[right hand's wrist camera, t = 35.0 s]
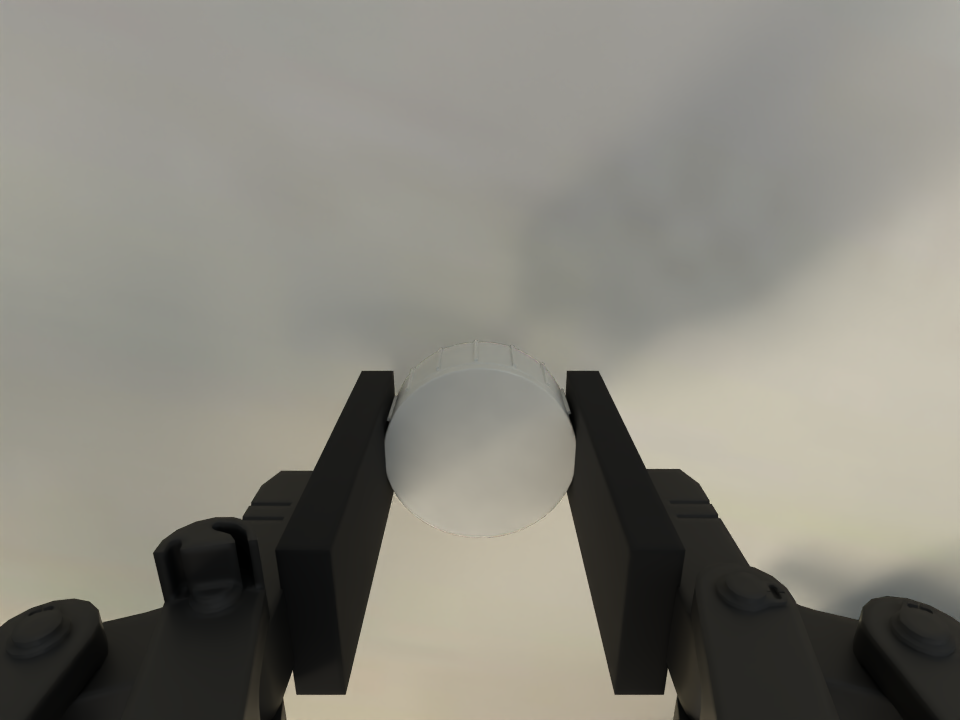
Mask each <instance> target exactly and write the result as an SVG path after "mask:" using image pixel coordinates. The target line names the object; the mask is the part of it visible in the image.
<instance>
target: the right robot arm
mask: <svg viewBox="0 0 960 720" xmlns="http://www.w3.org/2000/svg"><path fill="white" fill-rule="evenodd" d="M394 397H395V390H394V372H393V371H362V372H361V374H360V376H359V378H358V380H357V382H356V384H355V386H354V388H353V390H352V392H351V394H350V396H349V398H348V401H347V403H346V405H345V407H344V409H343V411H342V413H341V415H340V417H339V419H338V421H337V423H336V425H335V427H334V429H333V431H332V433H331V435H330V438H329V440H328V442H327V444H326V446H325V448H324V450H323V452H322V454H321V456H320V458H319V460H318V462H317V464H316V466H315V468H314V470H313V471H280V472H279V473H278V474H276V475H275V476H274V477H272V478H271V479H270V480H268V481H267V482H266V483H264V484H263V485H262V486H261V487H260V489H259V491H258V492H257V494H256V496H255V497H254V499H253V501H252V502H251V506H249V507H248V509H247V510H246V512H245V514H244V515H243V519H242V520H241V519H238V518H234V517H215V518H210V519H206V520H201V521H197V522H194V523H192V524H189V525H187V526H185V527H182V528H180V529H178V530H176V531H175V532H174V533H172V534H171V535H169V536H168V537H167V538H165V539H164V540H162V542H161V543H160V544H159V546H158V547H157V548H156V550H155V551H154V552H153V555H154V559H155V563H156V567H157V572H158V576H159V580H160V584H161V588H162V593H163V597H164V601H165V603H164V605H163V607H162V608H159V609H156V610H152V611H149V612H146V613H142V614H137V615H133V616H129V617H124V618H120V619H116V620H111V621H107V622H103V623H102V620H101V617H100V614H99V610H98V609H97V608H96V607H95V606H94V605H93V604H92V603H91V602H89V601H84V600H79V599H66V600H57V601H52V602H49V603H46V604H43V605H39V606H36V607H33V608H31V609H29V610H27V611H25V612H23V613H21V614H19V615H17V616H15V617H14V618H12V619H10V620H8V621H7V622H6V623H4V624H3V625H2V626H1V627H0V720H286V713H285V706H284V700H283V696H284V694H285V691H286V688H287V685H288V682H289V679H290V676H291V673H292V670H293V674H294V681H295V688H296V694H297V695H346V691H347V687H348V682H349V678H350V674H351V670H352V666H353V661H354V657H355V653H356V649H357V644H358V640H359V636H360V632H361V628H362V623H363V619H364V615H365V611H366V606H367V602H368V598H369V594H370V590H371V585H372V581H373V577H374V573H375V568H376V564H377V560H378V556H379V552H380V547H381V543H382V539H383V535H384V531H385V526H386V522H387V518H388V514H389V509H390V505H391V501H392V497H393V493H394V490H393V489H392V487H391V484H390V482H389V480H388V477H387V473H386V458H385V435H386V431H387V428H388V424H389V421H387V418H388V415H389V412H390V409H391V406H392V403H393V400H394ZM566 399H567V402H568V406H569V409H570V412H571V414H569V417H570V420H571V423H572V426H573V430H574V433H575V437H576V449H575V465H574V475H573V479H572V481H571V483H570V486H569V488H568V490H567V495H568V499H569V504H570V508H571V512H572V516H573V520H574V525H575V529H576V533H577V537H578V542H579V546H580V550H581V554H582V558H583V563H584V567H585V571H586V575H587V580H588V584H589V588H590V592H591V596H592V601H593V605H594V609H595V613H596V617H597V622H598V626H599V630H600V634H601V639H602V643H603V647H604V651H605V655H606V660H607V664H608V668H609V672H610V677H611V681H612V685H613V689H614V693H615V695H664V690H665V684H666V677H667V670H668V669H669V672H670V675H671V678H672V681H673V684H674V686H675V689H676V692H677V700H676V706H675V712H674V719H673V720H960V623H959V622H958V621H956V620H955V619H954V618H953V617H951V616H949V615H947V614H945V613H943V612H941V611H939V610H937V609H936V608H934V607H932V606H930V605H926V604H923V603H920V602H917V601H914V600H911V599H908V598H899V597H890V596H885V597H880V598H875V599H871V600H870V601H869V602H868V603H867V604H866V605H865V606H864V607H863V608H862V612H861V615H860V619H859V620H856V619H851V618H847V617H843V616H838V615H834V614H829V613H825V612H821V611H816V610H813V609H810V608H806V607H803V606H800V605H798V604H796V602H795V600H794V598H793V597H792V595H791V594H790V592H789V591H788V589H787V588H786V587H785V586H784V585H783V584H781V583H780V582H779V581H778V580H776V579H775V578H774V577H773V576H771V575H769V574H767V573H765V572H763V571H761V570H759V569H757V568H754V567H750V566H749V564H748V562H747V561H746V559H745V558H744V556H743V554H742V553H741V551H740V549H739V548H738V546H737V545H736V543H735V541H734V540H733V538H732V536H731V535H730V533H729V532H728V530H727V528H726V527H725V525H724V523H723V522H722V520H721V519H720V518H718V514H717V512H716V510H715V509H714V507H713V506H712V504H710V503H709V499H708V497H707V496H706V494H705V493H704V491H703V489H702V488H701V486H700V484H699V483H697V482H696V481H695V480H693V479H692V478H691V477H689V476H688V475H687V474H685V473H684V472H683V471H681V470H680V469H646V468H645V465H644V463H643V461H642V459H641V457H640V455H639V453H638V451H637V449H636V447H635V445H634V443H633V441H632V439H631V437H630V435H629V433H628V431H627V428H626V426H625V424H624V422H623V420H622V418H621V416H620V414H619V412H618V410H617V408H616V406H615V404H614V402H613V400H612V398H611V396H610V394H609V391H608V389H607V387H606V385H605V383H604V381H603V379H602V377H601V375H600V373H599V371H567V379H566Z"/></svg>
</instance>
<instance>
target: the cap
mask: <svg viewBox="0 0 960 720" xmlns="http://www.w3.org/2000/svg"><path fill="white" fill-rule="evenodd" d="M569 414H571V412H570V409H569V406H568V402H567V399H566V396H565V393H564V390H563V389H561V390H560V388H559V385H558V384H557V382H556V381H555V379H554V378H553V376H552V375H551V374H550V373H549V372H548V370H547V369H546V368H545V364H544V363H543V362H542V363H541V364H540V363H539V362H538V361H537V360H535V359H534V358H532V357H531V356H530V355H528V354H526V353H524V352H522V351H520V350H518V349H516V348H514V346H513V345H511V346H507V345H503V344H498V343H492V342H478V340H474V342H468V343H462V344H457V345H454V346H451V347H447V348H445V349H443V348H440V349H439V351H438V352H436V353H434V354H433V355H431V356H429V357H428V358H426V359H425V360H424V361H423V362H421V363H420V364H419V365H418V366H417V367H416V368H415V369H414V368H412V369H411V370H410V374H409V376H408V377H407V379H406V380H405V381H404V383H403V385H402V387H401V389H400V391H399V393H398V396H396V395H395V397H394V400H393V403H392V406H391V409H390V412H389V415H388V418H387V421H389V424H388V428H387V431H386V435H385V458H386V473H387V477H388V480H389V482H390V484H391V487H392V489H393V490H394V492H395V494H396V495H397V497H398V498H399V500H400V501H401V502H402V503H403V505H404V506H405V507H406V508H407V509H408V510H409V511H410V512H411V513H412V514H414V515H415V516H416V517H418V518H419V519H420V520H422V521H423V522H425V523H427V524H428V525H430V526H432V527H434V528H436V529H439V530H441V531H443V532H447V533H450V534H453V535H458V536H463V537H472V538H490V537H497V536H503V535H507V534H511V533H514V532H517V531H519V530H522V529H525V528H527V527H528V526H530V525H532V524H534V523H536V522H537V521H539V520H540V519H542V518H543V517H545V516H546V515H547V514H548V513H549V512H550V511H551V510H553V508H554V507H555V506H556V505H557V504H558V503H559V502H560V500H561V499H562V498H563V496H564V495H565V493H566V492H567V490H568V488H569V486H570V483H571V481H572V479H573V475H574V465H575V449H576V437H575V433H574V430H573V426H572V423H571V420H570V417H569Z"/></svg>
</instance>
